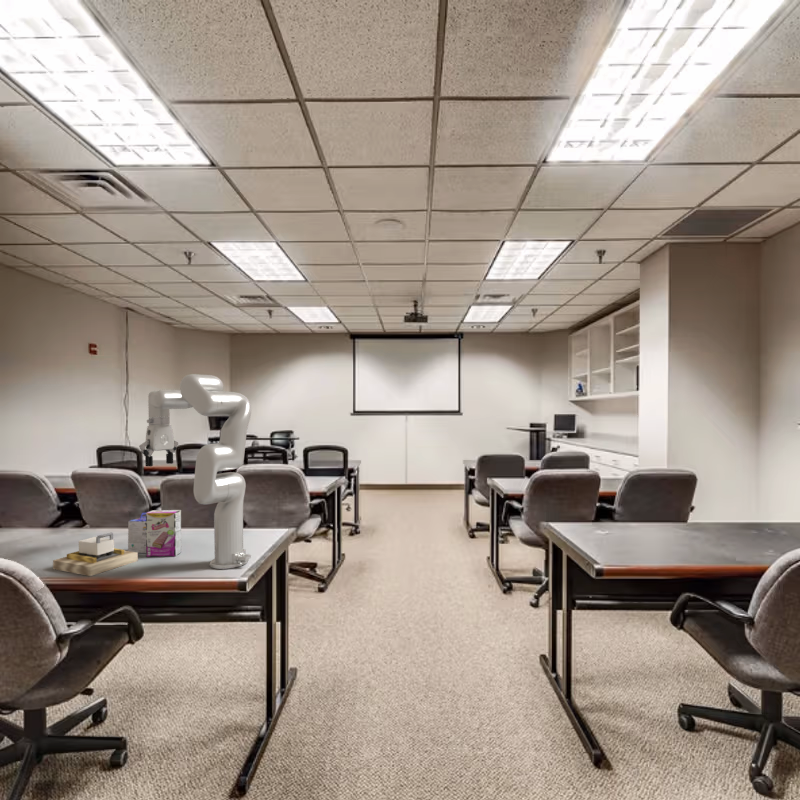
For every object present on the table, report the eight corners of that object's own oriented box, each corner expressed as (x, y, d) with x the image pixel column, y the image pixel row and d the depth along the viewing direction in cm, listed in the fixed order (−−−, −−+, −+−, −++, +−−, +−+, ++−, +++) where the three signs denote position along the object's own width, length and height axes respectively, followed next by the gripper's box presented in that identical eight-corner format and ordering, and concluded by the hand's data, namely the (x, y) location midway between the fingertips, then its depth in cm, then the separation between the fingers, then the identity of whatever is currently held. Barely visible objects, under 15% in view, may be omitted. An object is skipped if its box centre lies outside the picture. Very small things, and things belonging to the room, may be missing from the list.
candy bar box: (145, 557, 176) (145, 512, 176) (152, 553, 181) (152, 510, 181) (175, 556, 176) (175, 512, 176) (181, 552, 181) (181, 509, 181)
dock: (137, 560, 172) (137, 548, 172) (90, 576, 157) (90, 562, 157) (101, 555, 180) (101, 543, 180) (53, 569, 165) (53, 555, 165)
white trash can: (114, 554, 169) (113, 532, 169) (97, 559, 164) (97, 536, 164) (95, 551, 173) (95, 529, 173) (78, 556, 168) (78, 533, 168)
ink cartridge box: (160, 549, 187) (160, 512, 187) (151, 553, 181) (151, 515, 181) (136, 548, 188) (136, 511, 188) (127, 553, 182) (127, 515, 183)
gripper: (147, 422, 182) (147, 467, 181) (183, 421, 198) (184, 462, 197) (133, 422, 185) (133, 467, 184) (170, 421, 201) (170, 462, 200)
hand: (159, 464), depth 191 cm, fingers open, 9 cm apart
